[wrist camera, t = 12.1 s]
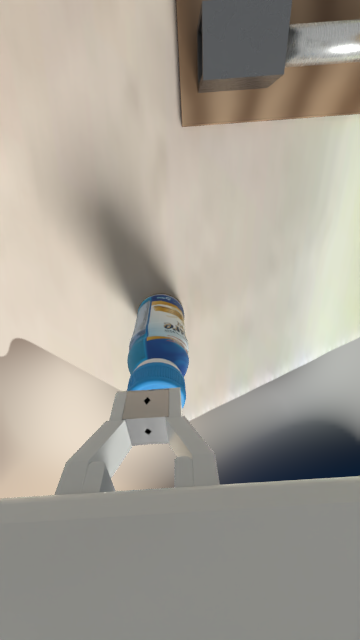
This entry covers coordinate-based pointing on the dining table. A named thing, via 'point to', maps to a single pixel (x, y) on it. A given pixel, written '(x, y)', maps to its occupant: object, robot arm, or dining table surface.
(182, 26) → the walnut base board
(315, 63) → the block rod assembly
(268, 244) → the dining table surface
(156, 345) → the beverage bottle
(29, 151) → the dining table surface
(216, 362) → the dining table surface
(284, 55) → the dark gray block
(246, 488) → the robot arm
